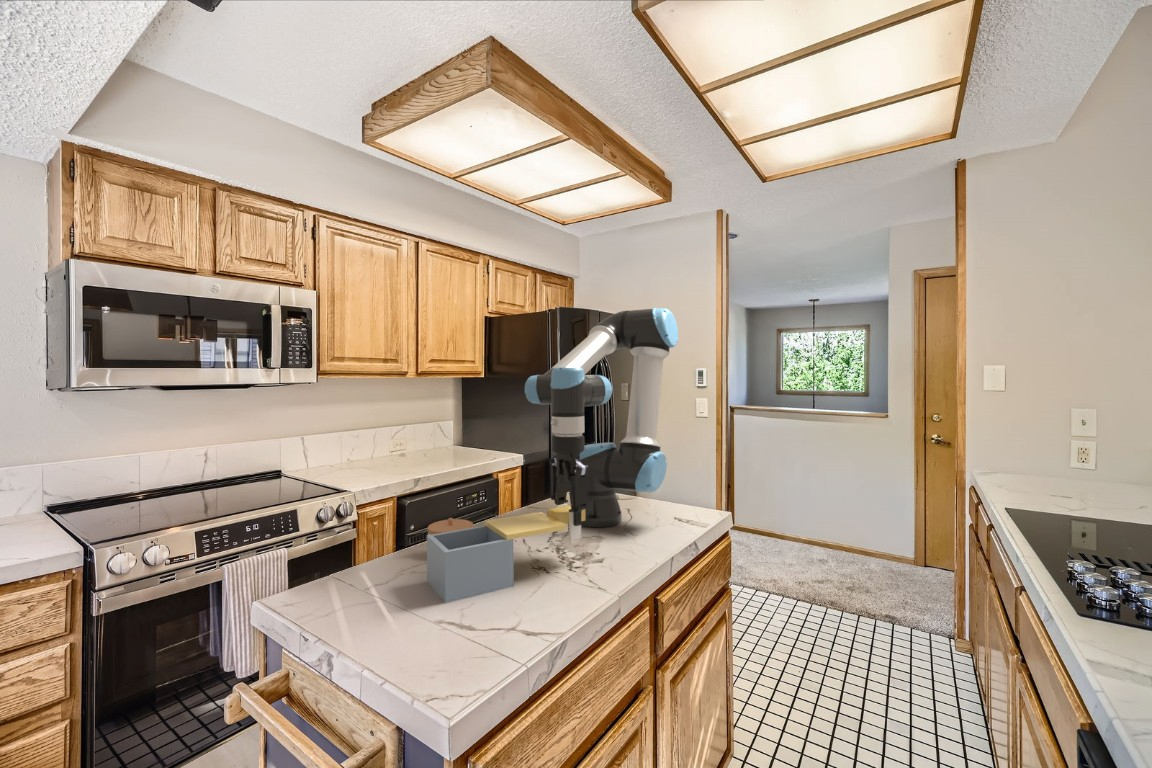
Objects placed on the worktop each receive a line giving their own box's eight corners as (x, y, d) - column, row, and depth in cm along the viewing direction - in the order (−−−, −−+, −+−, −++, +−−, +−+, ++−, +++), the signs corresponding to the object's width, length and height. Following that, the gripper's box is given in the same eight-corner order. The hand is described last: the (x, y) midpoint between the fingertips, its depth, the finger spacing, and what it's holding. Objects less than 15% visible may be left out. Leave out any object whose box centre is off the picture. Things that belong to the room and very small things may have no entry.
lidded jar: (462, 566, 118) (461, 526, 117) (419, 563, 120) (419, 523, 120) (480, 550, 128) (479, 513, 128) (440, 548, 130) (440, 511, 130)
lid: (566, 512, 124) (566, 501, 124) (593, 524, 114) (593, 513, 114) (484, 525, 113) (484, 513, 113) (506, 539, 102) (506, 527, 102)
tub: (490, 573, 113) (490, 524, 113) (513, 593, 103) (513, 539, 103) (427, 588, 106) (426, 535, 106) (445, 610, 96) (445, 552, 96)
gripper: (535, 431, 122) (535, 528, 123) (574, 440, 107) (575, 550, 108) (562, 429, 126) (562, 523, 127) (604, 437, 111) (604, 543, 111)
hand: (568, 535), depth 117 cm, fingers closed on lid, 5 cm apart
